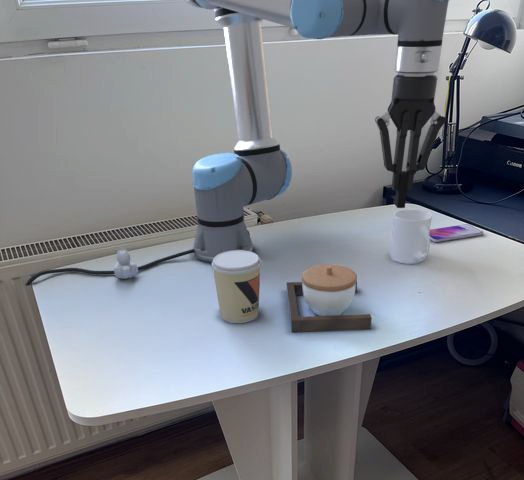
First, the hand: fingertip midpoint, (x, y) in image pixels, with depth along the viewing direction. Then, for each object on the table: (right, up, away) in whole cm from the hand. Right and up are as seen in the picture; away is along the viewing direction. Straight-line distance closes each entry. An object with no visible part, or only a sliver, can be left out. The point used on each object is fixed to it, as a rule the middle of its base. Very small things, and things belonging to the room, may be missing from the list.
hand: (399, 205), depth 103 cm
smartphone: (+23, +2, +33) cm, 41 cm away
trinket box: (-14, -21, 0) cm, 26 cm away
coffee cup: (-32, -22, 0) cm, 39 cm away
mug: (+8, -8, +20) cm, 23 cm away
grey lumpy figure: (-60, -12, +17) cm, 63 cm away
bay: (-14, -21, 0) cm, 25 cm away
